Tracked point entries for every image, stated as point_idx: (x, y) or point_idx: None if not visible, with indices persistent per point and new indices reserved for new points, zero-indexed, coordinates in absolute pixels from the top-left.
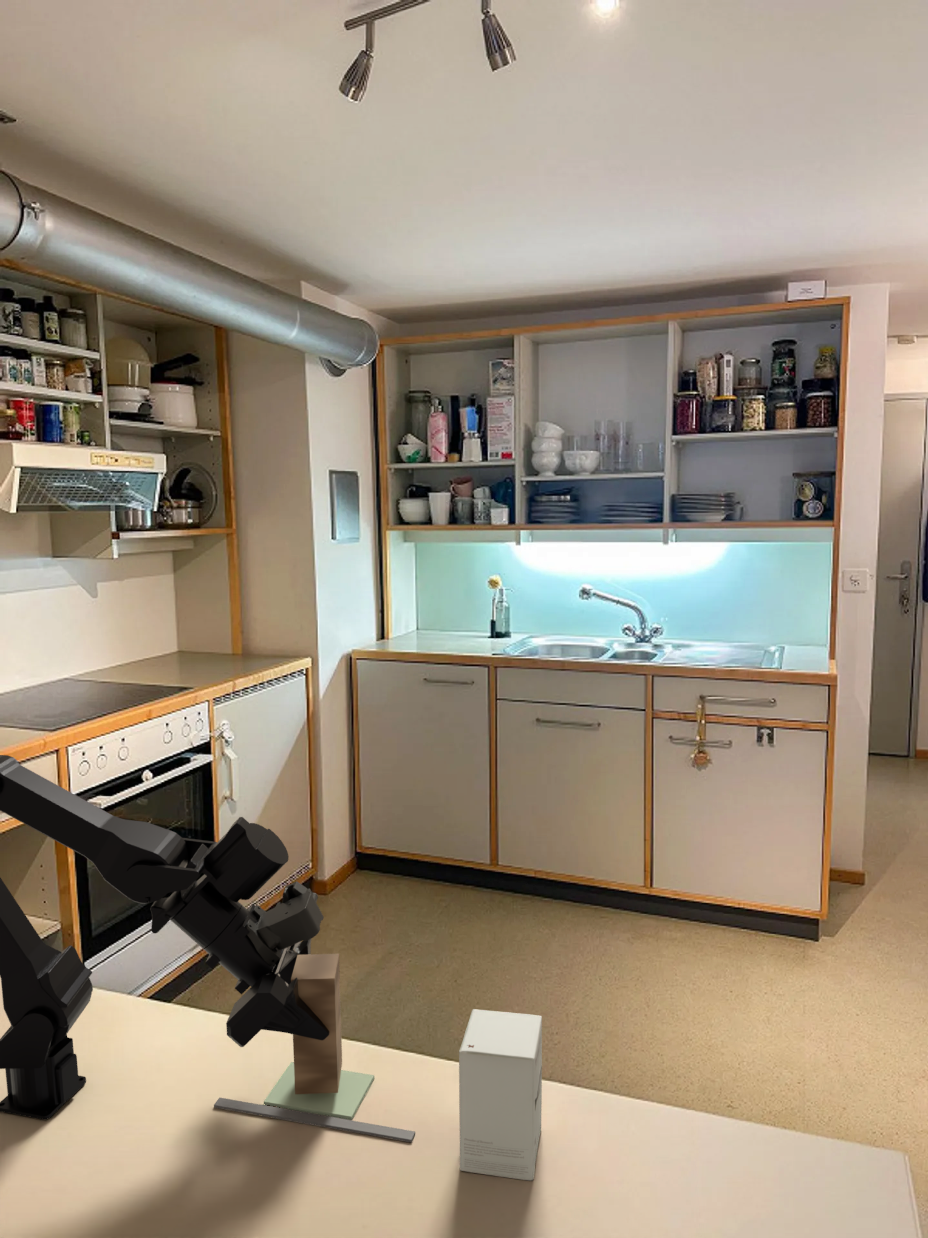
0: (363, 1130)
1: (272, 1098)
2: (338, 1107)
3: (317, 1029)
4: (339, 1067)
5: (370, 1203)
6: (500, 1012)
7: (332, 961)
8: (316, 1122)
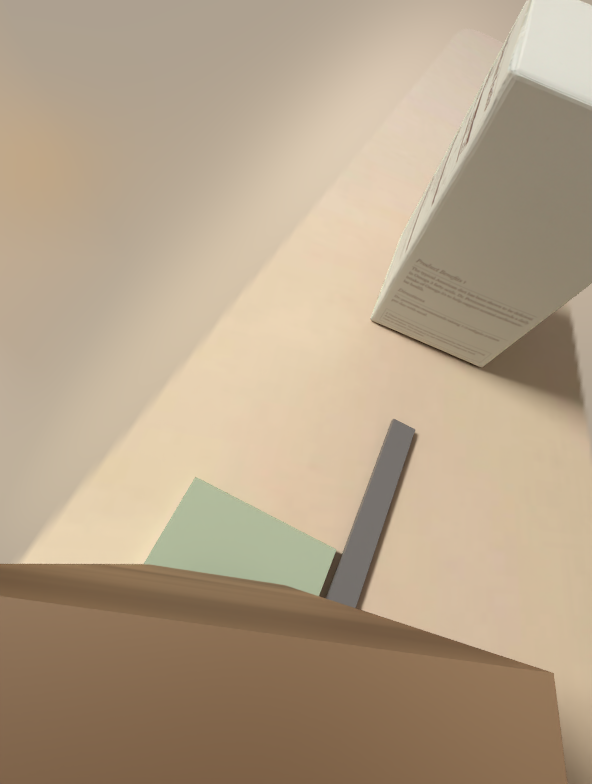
0: (380, 524)
1: None
2: (296, 583)
3: None
4: (228, 577)
5: (553, 529)
6: (533, 28)
7: (21, 718)
8: None
